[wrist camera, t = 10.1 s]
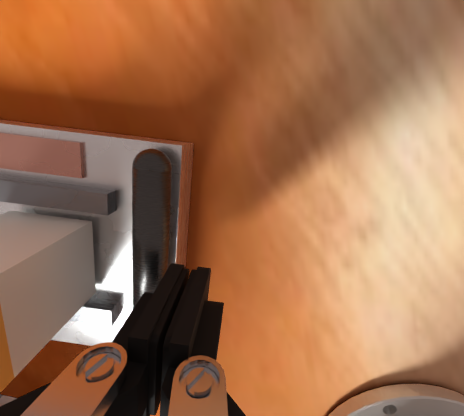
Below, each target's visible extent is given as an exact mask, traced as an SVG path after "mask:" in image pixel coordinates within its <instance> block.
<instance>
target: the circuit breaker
mask: <svg viewBox="0 0 464 416" xmlns="http://www.w3.org/2000/svg"><path fill="white" fill-rule="evenodd" d="M15 399H17V398H14V397H10V396H5V395H0V406H2V405H4V404H6V403H9V402H11V401H13V400H15Z"/></svg>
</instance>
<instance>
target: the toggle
mask: <svg viewBox="0 0 464 416" xmlns="http://www.w3.org/2000/svg"><path fill="white" fill-rule="evenodd" d="M95 293H96V285H95V267H94V249H93V230H92V221H87V220H79V219H72V218H64V217H56V216H49V215H41V214H34V213H26V212H19V211H8V212H5V213H2V214H0V393H1V392H2V390H3V389H4V388H5V387H6V386H7V385H8V384H9V383H10V382H11V381H12V380H13V379H14V378H15V377H16V376H17V375H18V374H19V373H20V372H21V370H22V369H23V368H24V367H25V366H26V365H27V364H28V363H29V362H30V361H31V360H32V359H33V358H34V357H35V356H36V355H37V354H38V353H39V352H40V351H41V349H42V348H43V347H44V346H45V345H46V344H47V343H48V342H49V341H50V340H51V339H52V338H53V337H54V336H55V335H56V334H57V333H58V332H59V331H60V329H61V328H62V327H63V326H64V325H65V324H66V323H67V322H68V321H69V320H70V319H71V318H72V317H73V316H74V315H75V314H76V313H77V312H78V311H79V309H80V308H81V307H82V306H83V305H84V304H85V303H86V302H87V301H88V300H89V299H90V298H91V297H92V296H93V295H94V294H95Z"/></svg>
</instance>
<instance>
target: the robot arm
mask: <svg viewBox="0 0 464 416" xmlns="http://www.w3.org/2000/svg"><path fill="white" fill-rule="evenodd" d="M210 273H211V268H204V267H197V270H192V271H191V274H190V276H189V269H185V265H182V264H174V263H171V264H170V266H169V267H168V269H167V271H166V273H165V274H164V276H163V278H162V279H161V281H160V283H159V285H158V286H157V288H156V290H155V291H154V293H149V292H145V293H144V294H143V295H142V296H141V298H140V299H139V301H138V302H137V304H136V305H135V307H134V309H133V310H132V312H131V313H130V315H129V316H128V318H127V319H126V321H125V322H124V324H123V326H122V327H121V329H120V330H119V332H118V333H117V335H116V336H115V338H114V340H113V341H112V343H111V342H105V343H99V344H96V345H93V346H91V347H89V348H87V349H85V350H84V351H83V352H81V353H80V354H79V355H78V356H77V357H76V358H75V359H74V360H73V361H72V362H71V363H70V364H69V365H68V366H67V367H66V368H65V369H64V370H63V371H62V372H61V374H60V375H59V376H58V377H57V378H56V379H55V380H54V381H53V382H51V383H49V384H47V385H45V386H43V387H40V388H38V389H36V390H34V391H32V392H30V393H28V394H26V395H23V396H21V397H19V398H17V399H15V400H13V401H11V402H9V403H6V404H4V405H2V406H0V416H150V415H156V413H157V410H158V407H159V404H160V416H246V415H245V414H244V413H243V412H242V410H241V409H240V408H239V407H238V405H237V404H236V403H235V402H234V400H233V399H232V398H231V397H230V395H229V394H228V393H227V391H226V377H225V373H224V370H223V368H222V367H221V365H220V364H219V363H218V362H217V361H216V358H217V351H218V343H219V336H220V329H221V321H222V313H223V305H224V303H221V302H213V301H208V292H209V282H210ZM188 277H189V279H188ZM160 401H161V402H160ZM328 416H464V395H462V394H460V393H458V392H456V391H452V390H449V389H446V388H443V387H439V386H432V385H425V384H397V385H389V386H383V387H379V388H375V389H372V390H368V391H365V392H363V393H361V394H358V395H356V396H354V397H352V398H350V399H348V400H347V401H345V402H344V403H342V404H341V405H339V406H338V407H337V408H336V409H334V410H333V411H332V412H331V413H330V414H329V415H328Z"/></svg>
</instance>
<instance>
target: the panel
mask: <svg viewBox="0 0 464 416" xmlns="http://www.w3.org/2000/svg"><path fill="white" fill-rule="evenodd" d="M193 150H194V143H189V142H181V141H173V140H164V139H156V138H148V137H140V136H132V135H123V134H115V133H107V132H99V131H91V130H82V129H74V128H66V127H58V126H50V125H41V124H33V123H25V122H17V121H9V120H0V214H2V213H5V212H8V211H19V212H26V213H34V214H41V215H49V216H56V217H64V218H72V219H79V220H87V221H92V230H93V249H94V267H95V285H96V293H95V294H94V295H93V296H92V297H91V298H90V299H89V300H88V301H87V302H86V303H85V304H84V305H83V306H82V307H81V308H80V309H79V311H78V312H77V313H76V314H75V315H74V316H73V317H72V318H71V319H70V320H69V321H68V322H67V323H66V324H65V325H64V326H63V327H62V328H61V329H60V331H59V332H58V333H57V334H56V335H55V336H54V337H53V338H52V339H51V340H55V341H62V342H69V343H76V344H83V345H90V346H93V345H96V344H99V343H105V342H111V343H112V341H113V340H114V338H115V336H116V335H117V333H118V332H119V330H120V329H121V327H122V326H123V324H124V322H125V321H126V319H127V318H128V316H129V315H130V313H131V312H132V310H133V309H134V307H135V305H136V304H137V302H138V301H139V299H140V298H141V296H142V295H143V294H144V293H145V292H149V293H154V291H155V290H156V288H157V286H158V285H159V283H160V281H161V279H162V278H163V276H164V274H165V273H166V271H167V269H168V267H169V266H170V264H171V263H174V264H182V265H185V269H186V254H187V239H188V224H189V210H190V195H191V180H192V165H193Z"/></svg>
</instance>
